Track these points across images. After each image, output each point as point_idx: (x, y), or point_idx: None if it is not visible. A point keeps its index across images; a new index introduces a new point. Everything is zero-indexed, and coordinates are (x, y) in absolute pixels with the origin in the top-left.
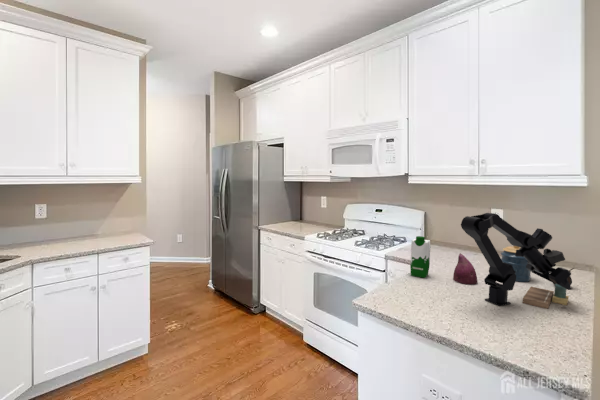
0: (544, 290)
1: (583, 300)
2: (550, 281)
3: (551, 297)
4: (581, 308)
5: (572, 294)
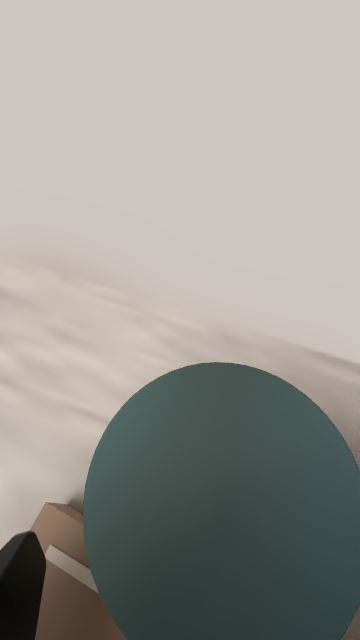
0: (39, 626)
1: (121, 315)
2: (32, 611)
3: None
4: (334, 394)
5: (4, 335)
